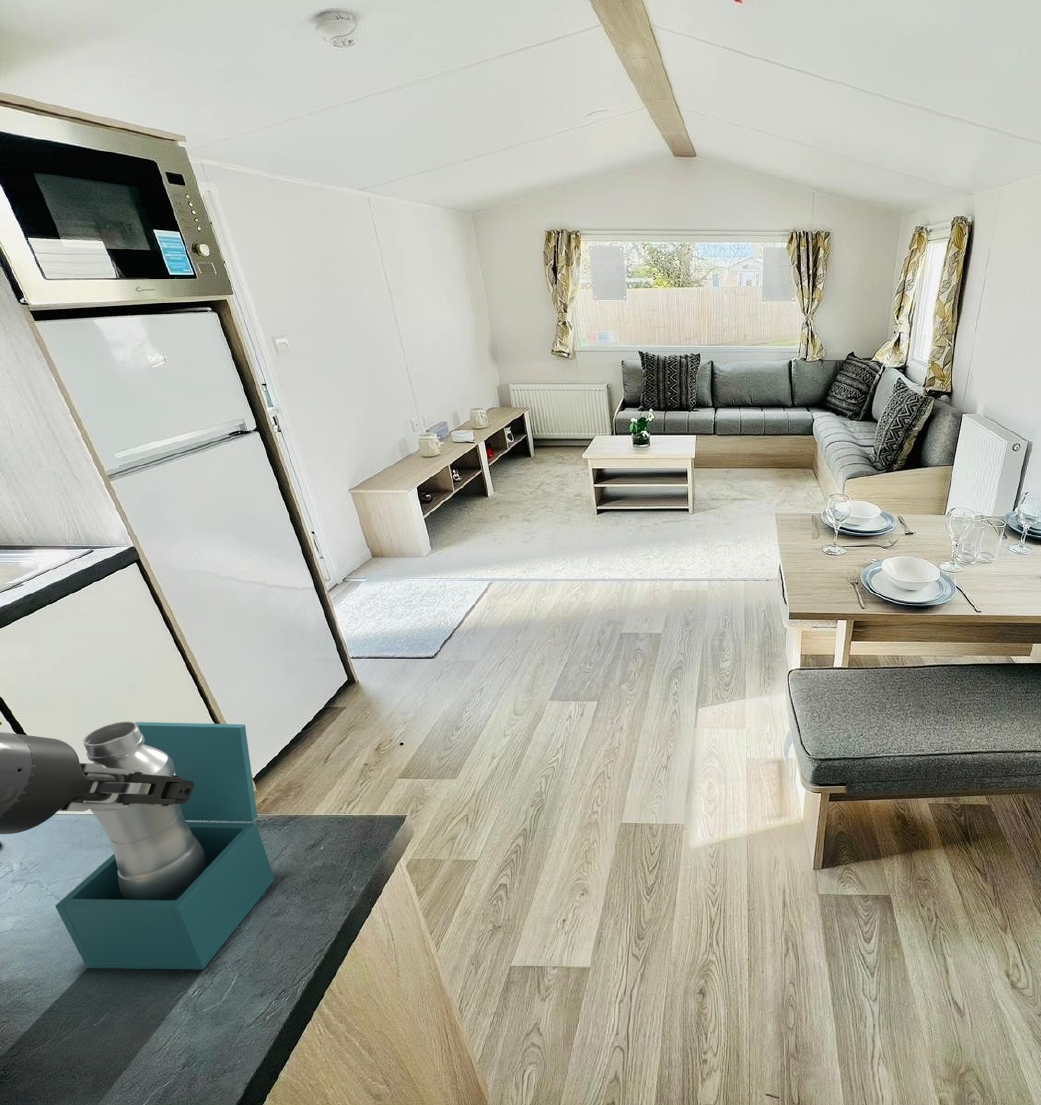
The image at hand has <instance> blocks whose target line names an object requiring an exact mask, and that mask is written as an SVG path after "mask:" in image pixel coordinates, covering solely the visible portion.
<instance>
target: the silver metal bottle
mask: <svg viewBox="0 0 1041 1105" xmlns="http://www.w3.org/2000/svg"><path fill="white" fill-rule="evenodd" d="M144 741H145V739H144V736H143V734H141V733H140V731H139V728H138V726H137V725H136V722H134V721H119V722H114V723H110V724H107V725H104V726H101V727H99V728H97V729H95V730H93V731H91V732H89V733H88V734H87V735H86V736H84V738H83V740H82V742H83V746H84V748H85V751H86V757H87V759H88V760H89V761H90V762H92V764H102V765H105V766H106V767H107V768H119V769H134V770H141V771H142V772H143V774H149V775H163V776H171V777H172V775H175V776H176V774H175V767H174V762H173V760H172V759H171V758H170V757H169V756H168V755H167V754H166V753H165V752H163V751H161V750H159V749H156V748H154V747H151V746H147V745H144V744H143V743H144ZM108 775H111V776H114V777H115V778H116V779H117V782H123V781H124V777H123V776H122V775H112V774H108ZM117 797H118V794H112V795H111V797H110V798H109V799H107V800H105V801H84V802H97V803H111V802H113V801H115V800H116V799H117ZM147 805H148V804H132V805H131V806H130V807H128V808H127V809H89V810H90V812H92V814H93V815H94V817H95V819H97V821H98V822H99V824H100V825H101V826H102V829H103V831H104V832H105V835H106V836H107V837H108V840H109V843H110V844H111V847H112V850H113V854H115V858H116V862H117V867H118V883H119V889H120V892H121V894H122V895H123V896H124V897H125V898H126V900H174V899H176V898H178V897H179V896H181V895H182V894H183V893H184V892H185V891H186V890H187V889H188V888H189V887H190V885H191V884H192V883H193V882H194V881H195V880H196V879H197V878H198V877H199V876H200V875H201V874H202V873H203V872H204V870H205V867H206V862H205V851H204V849H203V848H202V846H201V844H200V843H199V841H198V840H197V839H196V838H195V837H194V836H193V834H192V832H191V830H190V828H189V826H188V825H187V823H186V822H187V820H185V819H184V817H183V813H182V809H181V807H180V804H174V805H168V806H161V805H162V804H155V806H147Z"/></svg>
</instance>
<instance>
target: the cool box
mask: <svg viewBox="0 0 1041 1105" xmlns="http://www.w3.org/2000/svg"><path fill="white" fill-rule="evenodd" d="M186 823H187V825H188V826H189V828H190V830H191V832H192V834H193V836H194V837H195V838H196V839H197V840H198V841H199V843H200V844H201V846H202V848H203V849H204V851H205V862H206V867H205V870H204V872H203V873H202V874H201V875H200V876H199V877H198V878H197V879H196V880H195V881H194V882H193V883H192V884H191V885H190V887H189V888H188V889H187V890H186V891H185V892H184V893H183V894H182V895H181V896H179V897H178V898H176V899H174V900H126V898H125V897H124V896H123V895H122V894H121V892H120V889H119V883H118V867H117V862H116V858H115V854H114V853H113V854H112V855H111V856H110V857H109V858H107V859H106V860H105V861H104V862H103V863H102V864H101V865H99V866H98V867H97V868H96V869H95V870H94V871H92V872H91V874H89V875H88V876H87V877H86V878H85V879H83V881H81V882H80V883H79V884H78V885H76V886H75V887H74V888H73V889H72V890H71V891H70V892H69V893H68V894H67V895H65V896H64V897H63V898H62V899H61V900H60V901H59V902H58V903H56V904H55V910H57V913H58V914H59V916H60V918H61V920H62V922H63V924H64V926H65V928H66V930H67V932H68V934H69V936H70V939H71V940H72V942H73V943H74V946H75V948H76V950H77V952H78V953H79V955H80V957H81V959H82V961H83V963H84V966H85V967H86V968H87V969H132V970H133V969H137V970H139V969H141V970H142V969H143V970H205V968H206V967H207V966H208V964H209V963H210V962H211V960H212V959H213V958H214V957H215V956H216V955H217V953H218V952H219V951H220V950H221V948H222V947H223V946H224V944H225V943H226V941H228V939H229V938H230V937H231V936H232V934H233V933H234V932H235V931H236V929H237V928H238V927H239V925H240V924H241V923H242V922H243V920H245V918H246V917H247V915H248V914H249V913H250V912H251V910H252V909H253V908H254V907H255V905H256V904H257V903H258V902H259V900H260V899H261V898H262V897H263V895H265V893H266V891H267V890H268V889H269V888H270V886H271V885H272V884H273V882H275V877H274V874H273V871H272V868H271V865H270V862H269V859H268V855H267V852H266V848H265V846H264V843H263V840H262V837H261V834H260V830H259V828H258V824H257V822H231V821H186Z"/></svg>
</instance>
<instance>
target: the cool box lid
mask: <svg viewBox="0 0 1041 1105" xmlns="http://www.w3.org/2000/svg"><path fill="white" fill-rule="evenodd" d="M135 723H136V725H137V726H138V728H139V731H140V733H141V734H143V736H144V739H145V741H144V743H143V744H144V745H147V746H151V747H154V748H156V749H159V750H161V751H163V752H165V753H166V754H167V755H168V756H169V757H170V758H171V759H172V760H173V762H174V767H175V774H176V776H179V777H182V778H183V780H188V781H193V782H194V787H193V790H192V793H191V795H190V798H189V800H188V801H187V802H186V803H185V804H180V807H181V809H182V813H183V817H184V819H185V821H201V822H253V821H255V820H256V819H258V811H257V802H256V795H255V789H254V780H253V773H252V765H251V760H250V759H251V758H250V751H249V745H248V738H247V729H246V724H245V723H244V724H240V723H239V724H238V723H236V724H235V723H201V722H200V723H198V722H197V723H194V722H193V723H192V722H151V721H150V722H149V721H135Z"/></svg>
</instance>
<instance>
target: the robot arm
mask: <svg viewBox="0 0 1041 1105" xmlns="http://www.w3.org/2000/svg"><path fill="white" fill-rule="evenodd" d="M108 774H112V775H122V776H123V777H124V781H123V782H117V779H116V778H115V777H114V776H111V775H108ZM193 787H194V782H193V781H188V780H183V778H182V777H179V776H175V775H172V777H171V776H163V775H149V774H143V772H142V771H141V770H134V769H119V768H107V767H106V766H105V765H102V764H93V763H87V762H80V759H79V756H78V754H77V752H76V750H75V749H74V748H73V747H72V746H71V745H70V744H68V743H67V742H65V741H63V740H60V739H57V738H52V737H45V736H36V735H28V734H19V733H12V732H6V731H5V732H4V731H0V835H13V834H19V833H23V832H26V831H29V830H31V829H32V830H33V829H34V828H36V827H38V826H39V825H41V824H43V823H45V822H46V821H48V820H50V819H51V818H52V817H53V816H55V815H56V813H58V812H86V811H89V810H90V809H127V808H128V807H130V806H131V805H132V804H148V805H147V806H155V804H162V805H161V806H168V805H174V804H185V803H186V802H187V801H188V800H189V798H190V795H191V793H192V790H193ZM112 794H118V797H117V799H116V800H115V801H113V802H111V803H97V802H85V801H105V800H107V799H109V798H110V797H111V795H112Z"/></svg>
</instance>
